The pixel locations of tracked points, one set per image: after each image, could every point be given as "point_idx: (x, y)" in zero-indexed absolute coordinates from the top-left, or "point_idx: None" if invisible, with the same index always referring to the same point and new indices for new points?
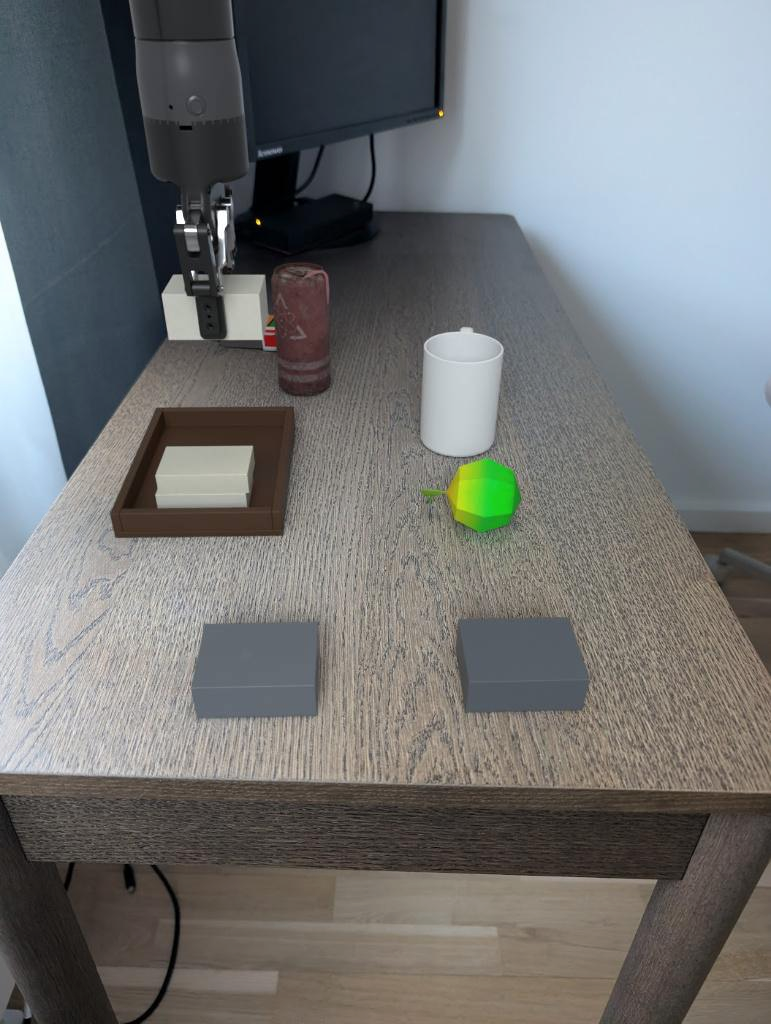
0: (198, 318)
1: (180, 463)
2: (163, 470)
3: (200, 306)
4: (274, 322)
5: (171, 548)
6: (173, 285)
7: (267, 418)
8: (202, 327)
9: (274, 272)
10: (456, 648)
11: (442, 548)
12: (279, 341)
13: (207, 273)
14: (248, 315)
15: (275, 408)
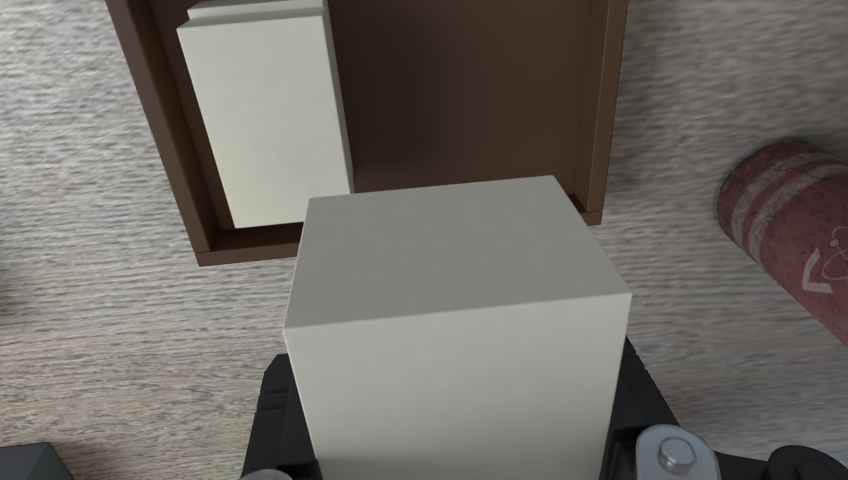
0: (292, 382)
1: (247, 77)
2: (204, 43)
3: (249, 458)
4: None
5: (114, 54)
6: (436, 344)
7: (582, 165)
8: (263, 381)
9: None
10: (39, 447)
11: (238, 421)
12: (838, 210)
13: (618, 431)
14: None
15: (595, 191)
